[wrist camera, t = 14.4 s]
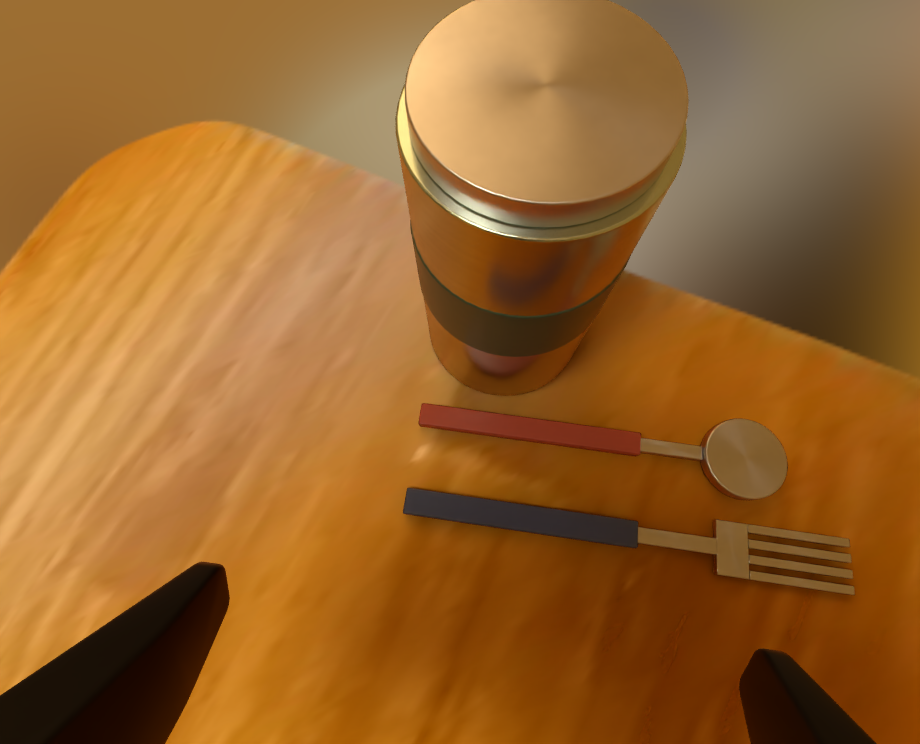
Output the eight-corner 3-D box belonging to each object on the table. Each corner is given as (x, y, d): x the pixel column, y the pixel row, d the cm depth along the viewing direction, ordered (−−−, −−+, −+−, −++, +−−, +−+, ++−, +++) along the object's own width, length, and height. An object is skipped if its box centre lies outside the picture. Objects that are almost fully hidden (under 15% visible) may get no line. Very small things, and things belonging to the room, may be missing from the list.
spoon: (777, 427, 21) (785, 423, 20) (781, 505, 20) (790, 504, 19) (427, 380, 22) (426, 375, 21) (414, 453, 21) (413, 451, 20)
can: (490, 428, 21) (523, 281, 9) (399, 311, 23) (327, 63, 11) (609, 338, 22) (774, 107, 10) (514, 235, 24) (563, -64, 12)
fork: (844, 538, 19) (853, 538, 19) (849, 594, 19) (859, 596, 18) (410, 475, 20) (409, 474, 20) (401, 527, 20) (400, 527, 19)
